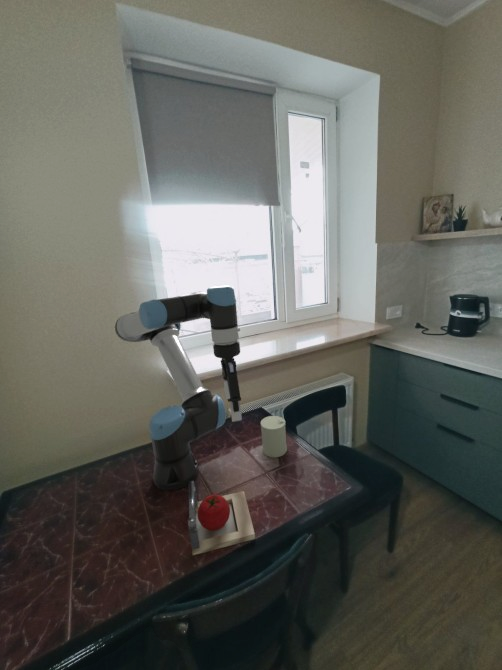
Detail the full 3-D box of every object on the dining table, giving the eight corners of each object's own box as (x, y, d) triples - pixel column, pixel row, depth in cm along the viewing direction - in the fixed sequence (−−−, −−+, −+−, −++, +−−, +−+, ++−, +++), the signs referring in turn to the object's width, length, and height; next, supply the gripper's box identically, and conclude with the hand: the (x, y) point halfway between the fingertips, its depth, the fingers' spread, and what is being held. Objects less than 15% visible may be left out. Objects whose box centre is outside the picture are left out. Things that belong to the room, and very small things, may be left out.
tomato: (232, 533, 77) (229, 509, 75) (199, 540, 76) (194, 515, 74) (230, 506, 86) (227, 484, 84) (199, 512, 85) (196, 489, 83)
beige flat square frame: (192, 555, 73) (191, 550, 72) (191, 507, 87) (190, 503, 87) (255, 538, 76) (254, 533, 75) (244, 495, 90) (243, 490, 90)
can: (288, 456, 106) (286, 427, 103) (262, 458, 106) (260, 429, 103) (285, 441, 115) (284, 413, 112) (262, 442, 115) (260, 415, 112)
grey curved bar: (192, 555, 71) (187, 524, 69) (191, 501, 87) (187, 475, 85) (199, 553, 72) (194, 522, 69) (197, 500, 88) (193, 473, 85)
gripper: (247, 352, 72) (254, 428, 77) (232, 330, 95) (238, 389, 101) (217, 356, 70) (226, 434, 76) (209, 333, 94) (216, 393, 100)
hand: (233, 408), depth 88 cm, fingers open, 13 cm apart
